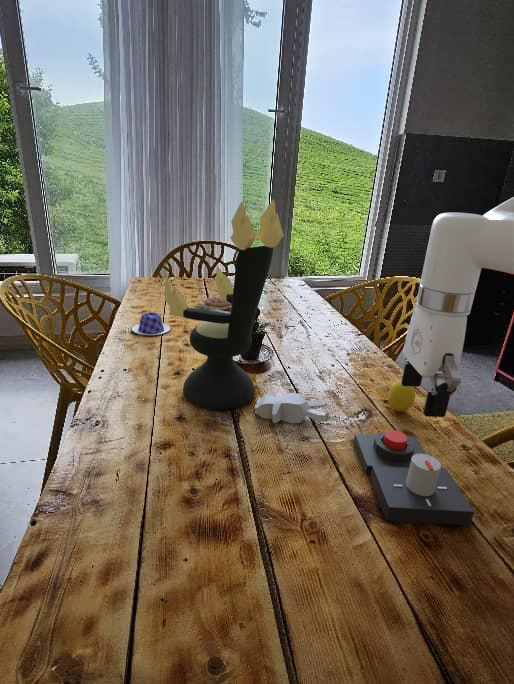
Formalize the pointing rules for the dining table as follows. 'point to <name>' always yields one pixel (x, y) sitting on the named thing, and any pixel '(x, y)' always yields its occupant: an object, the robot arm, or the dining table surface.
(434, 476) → the dial
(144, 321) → the pudding
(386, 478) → the knob control plate
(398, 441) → the power button
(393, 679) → the dining table surface
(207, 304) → the decorative turtle
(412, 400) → the lemon
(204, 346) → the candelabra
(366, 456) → the switch block
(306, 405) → the bunny figurine
